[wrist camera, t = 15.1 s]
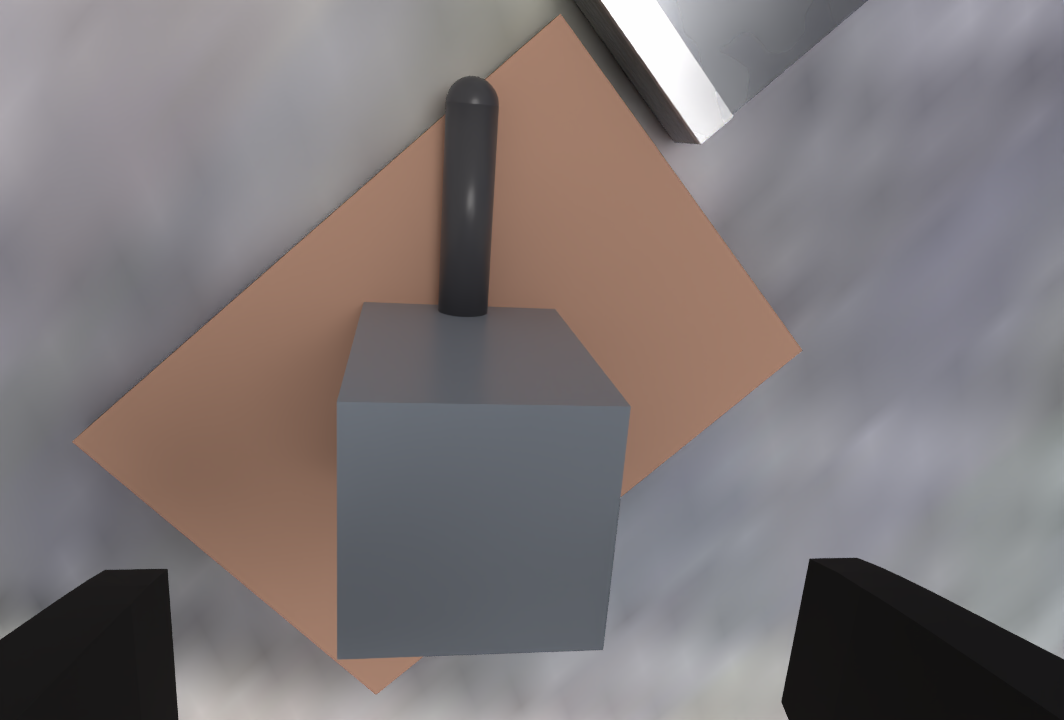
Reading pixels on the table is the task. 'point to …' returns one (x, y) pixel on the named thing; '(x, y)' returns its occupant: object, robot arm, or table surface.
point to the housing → (708, 51)
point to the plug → (473, 452)
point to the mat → (413, 278)
